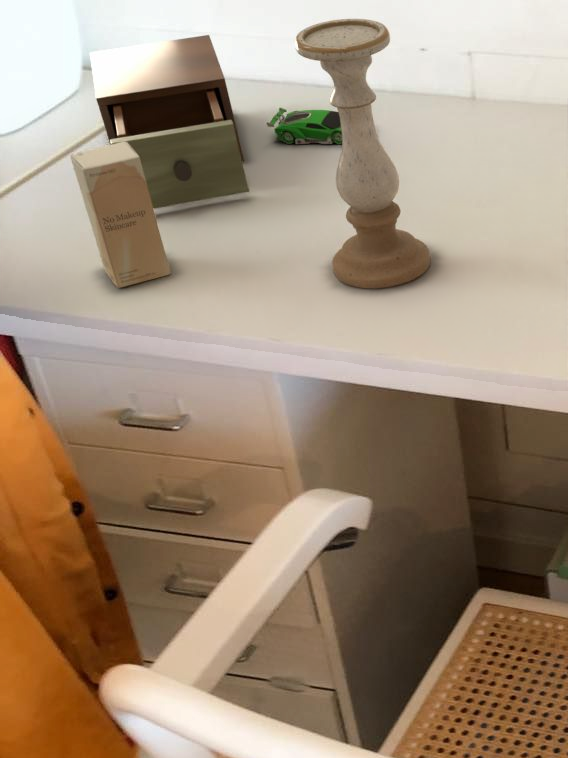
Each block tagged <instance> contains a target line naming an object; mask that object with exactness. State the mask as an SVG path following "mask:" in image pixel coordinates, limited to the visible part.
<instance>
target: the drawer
mask: <svg viewBox="0 0 568 758" xmlns="http://www.w3.org/2000/svg"><path fill="white" fill-rule="evenodd" d="M113 110H114V116H115V123H116V129H117V135H118V138H116V139H111V140H110V142H111V145H112V144H116V143H121V142H127V143H128V144H129V145H130V146H131V147H132V148H133V149H134V151H135V152H136V153H137V154H138V156H139V158H140V161H141V165H142V168H143V172H144V176H145V179H146V183H147V187H148V191H149V194H150V198H151V202H152V206H153V209H158V208H163V207H164V208H165V207H170V206H176V205H182V204H187V203H192V202H193V203H194V202H199V201H203V200H209V199H214V198H220V197H227V196H232V195H238V194H243V193H249V192H250V188H249V185H248V181H247V176H246V173H245V168H244V163H243V162H242V159H241V155H240V151H239V146H238V142H237V138H236V134H235V130H234V126H233V122H232V120H226V121H224V119H223V116H222V113H221V110H220V107H219V104H218V101H217V98H216V95H215V92H214V89H213V88H212V89H205V90H199V91H193V92H186V93H180V94H174V95H167V96H161V97H155V98H148V99H142V100H136V101H129V102H123V103H117V104H113ZM110 142H109V143H110Z"/></svg>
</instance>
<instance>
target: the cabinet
mask: <svg viewBox="0 0 568 758" xmlns="http://www.w3.org/2000/svg"><path fill="white" fill-rule="evenodd" d="M89 58H90V64H91V72H92V78H93V85H94V93H95V99H96V100H95V101H96V102H97V106H98V109H99V110H98V111H99V113H100V116H101V119H102V122H103V126H104V129H105V132H106V135H107V138H108V141H109V145H111V142H110V140H111V139H116V138H118V135H117V129H116V123H115V116H114V110H113V104H117V103H123V102H129V101H136V100H142V99H148V98H155V97H161V96H167V95H174V94H180V93H186V92H193V91H199V90H205V89H212V88H213V89H214V92H215V95H216V98H217V101H218V104H219V107H220V110H221V113H222V116H223V119H224V121H226V120H232V122H233V126H234V130H235V134H236V138H237V142H238V146H239V151H240V155H241V159H242V163H243V162H245V157H244V154H243V149H242V146H241V141H240V136H239V133H238V128H237V123H236V120H235V116H234V111H233V107H232V103H231V99H230V95H229V94H230V93H229V90H228V85H227V83H226V77H225V75H224V72H223V70H222V67H221V64H220V62H219V58H218V56H217V53H216V50H215V47H214V45H213V42H212V39H211V36H210V35H209V34H205V35H199V36H192V37H191V36H190V37H185V38H179V39H171V40H165V41H164V40H163V41H158V42H151V43H145V44H138V45H132V46H131V45H129V46H125V47H118V48H111V49H110V48H109V49H104V50H96V51H90V52H89Z"/></svg>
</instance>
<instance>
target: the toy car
mask: <svg viewBox="0 0 568 758" xmlns="http://www.w3.org/2000/svg"><path fill="white" fill-rule="evenodd" d="M278 110H279V111H277V113H276V114H275V115H273V116H272V118H271V120H270V121H269V122H266V126H267V127H268V128H274V127H275V124H277V126H276V127H275V128H274V130H273V131H274V133H275V134H276V136H277V139H279V140H280V141H281V142H284V143H285V144H287V145H291V144H293V143H295V145H305V144H307V145H308V144H310V143H312V144H313V143H314V144H317V143H318V144H321V145H333V144H334V143H335V144H336V145H342V131H341V123H340V117H339V113H338V111H334V110H329V109H328V110H327V109H305V110H304V109H303V110H294V111H291V112H288V113H287V111H288V110H287V109H285V108H283V107H279V108H278ZM284 113H286V115H285V116H284Z"/></svg>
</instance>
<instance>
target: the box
mask: <svg viewBox="0 0 568 758" xmlns="http://www.w3.org/2000/svg"><path fill="white" fill-rule="evenodd" d="M69 158H70V160H71V164H72V167H73V170H74V173H75V176H76V179H77V183H78V186H79V190H80V194H81V196H82V200H83V203H84V206H85V209H86V214H87V216H88V219H89V222H90V226H91V229H92V232H93V236H94V239H95V243H96V246H97V249H98V253H99V257H100V259H101V263H102V267H103V268H104V272H105V273H106V275H107V276H108V278H109V280H110V281H111V282H112V284H114V285H115V286H116V288H118V289H119V288H124V287H128V286H132V285H135V284H139V283H144V282H148V281H150V280H154V279H158V278H161V277H166V276H168V275H171V269H170V268H171V267H170V265H169V262H168V258H167V254H166V251H165V247H164V243H163V240H162V236H161V232H160V229H159V225H158V221H157V217H156V213H155V210H154V209H155V208H153V206H152V202H151V198H150V194H149V191H148V187H147V183H146V179H145V176H144V172H143V168H142V165H141V161H140V158H139V156H138V154H137V153H136V152H135V151H134V149H133V148H132V147H131V146H130V145H129V144H128V143H127V142H121V143H116V144H112V145H110V144H107V145H101V146H97V147H94V148H90V149H87V150H83V151H78V152H74V153H70V154H69Z"/></svg>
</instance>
